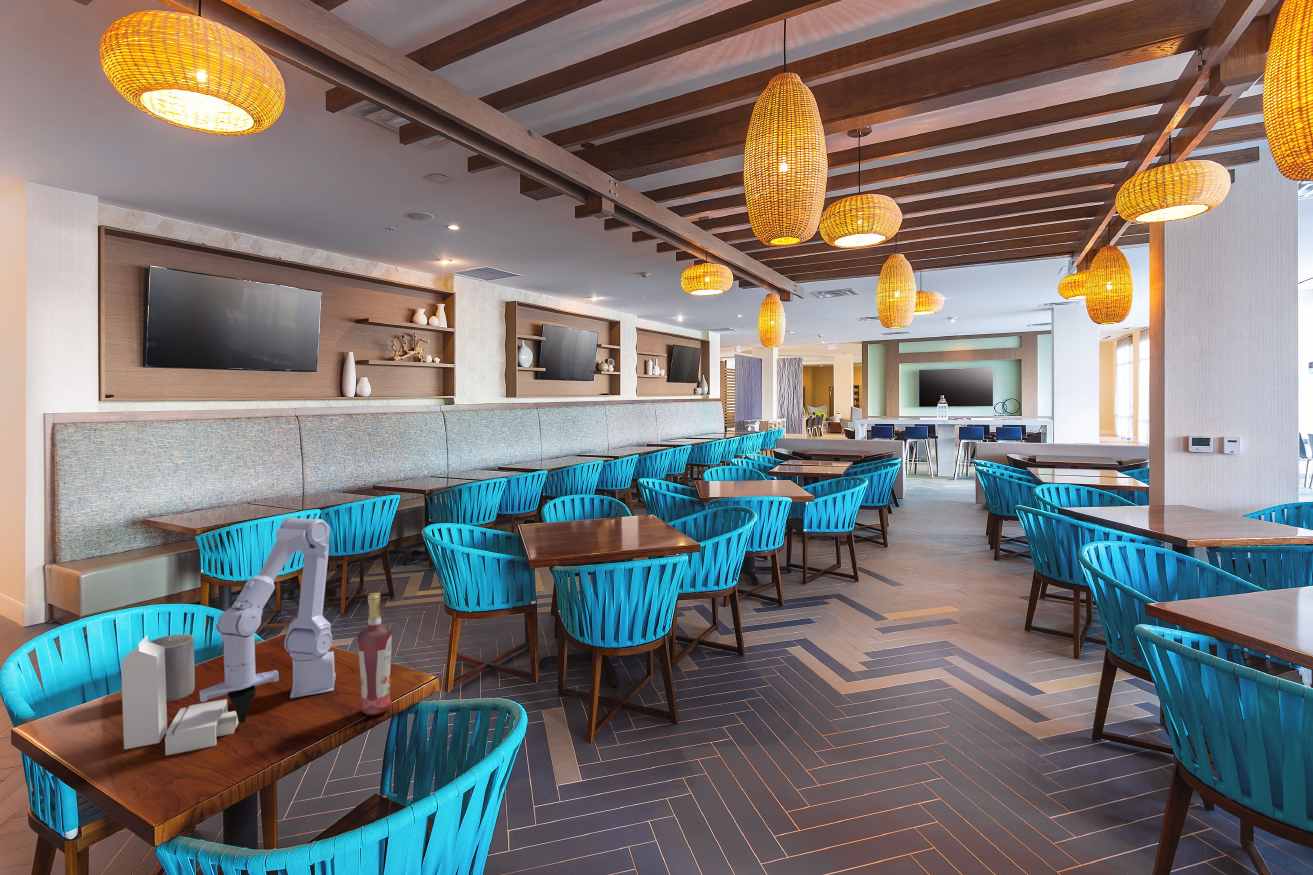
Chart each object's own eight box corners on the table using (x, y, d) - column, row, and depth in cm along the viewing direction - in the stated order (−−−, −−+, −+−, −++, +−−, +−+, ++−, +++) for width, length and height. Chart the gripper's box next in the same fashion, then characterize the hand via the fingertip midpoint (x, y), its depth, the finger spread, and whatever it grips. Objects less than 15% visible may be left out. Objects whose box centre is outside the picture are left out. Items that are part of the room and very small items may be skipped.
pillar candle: (135, 701, 149) (133, 641, 148) (175, 683, 158) (174, 627, 158) (166, 706, 147) (165, 645, 146) (205, 688, 156) (204, 630, 155)
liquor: (387, 717, 141) (385, 598, 140) (354, 719, 140) (352, 599, 139) (396, 702, 148) (394, 589, 147) (365, 704, 147) (362, 590, 146)
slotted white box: (227, 717, 141) (227, 698, 141) (215, 745, 129) (215, 724, 129) (182, 726, 137) (181, 706, 137) (165, 755, 125) (164, 733, 125)
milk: (167, 730, 135) (165, 632, 135) (159, 743, 130) (157, 641, 129) (132, 736, 133) (130, 636, 132) (122, 750, 127) (120, 646, 127)
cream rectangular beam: (238, 720, 139) (238, 710, 139) (233, 733, 134) (233, 722, 134) (185, 730, 135) (184, 719, 135) (177, 743, 130) (177, 732, 130)
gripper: (271, 647, 144) (273, 704, 144) (196, 666, 133) (198, 727, 134) (280, 656, 139) (282, 714, 140) (202, 676, 129) (204, 738, 129)
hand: (241, 721), depth 136 cm, fingers closed
